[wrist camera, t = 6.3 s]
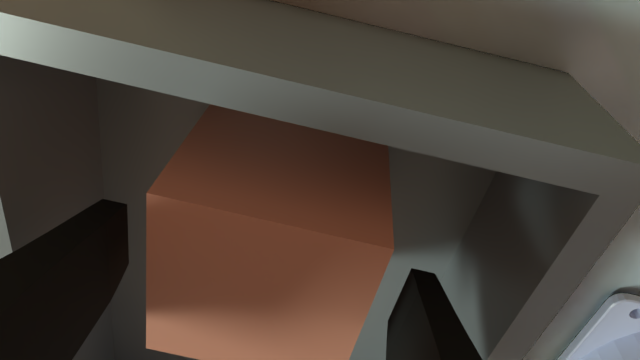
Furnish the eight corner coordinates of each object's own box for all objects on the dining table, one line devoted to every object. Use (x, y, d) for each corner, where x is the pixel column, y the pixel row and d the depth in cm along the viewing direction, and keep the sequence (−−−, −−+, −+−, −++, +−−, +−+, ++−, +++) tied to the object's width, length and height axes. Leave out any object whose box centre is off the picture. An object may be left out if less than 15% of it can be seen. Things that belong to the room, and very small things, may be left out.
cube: (387, 133, 13) (394, 249, 9) (345, 257, 16) (336, 389, 12) (217, 93, 13) (146, 193, 9) (205, 225, 16) (145, 348, 12)
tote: (567, 73, 13) (666, 170, 8) (384, 415, 22) (386, 538, 18) (70, -49, 12) (-91, -10, 8) (104, 355, 22) (40, 468, 18)
